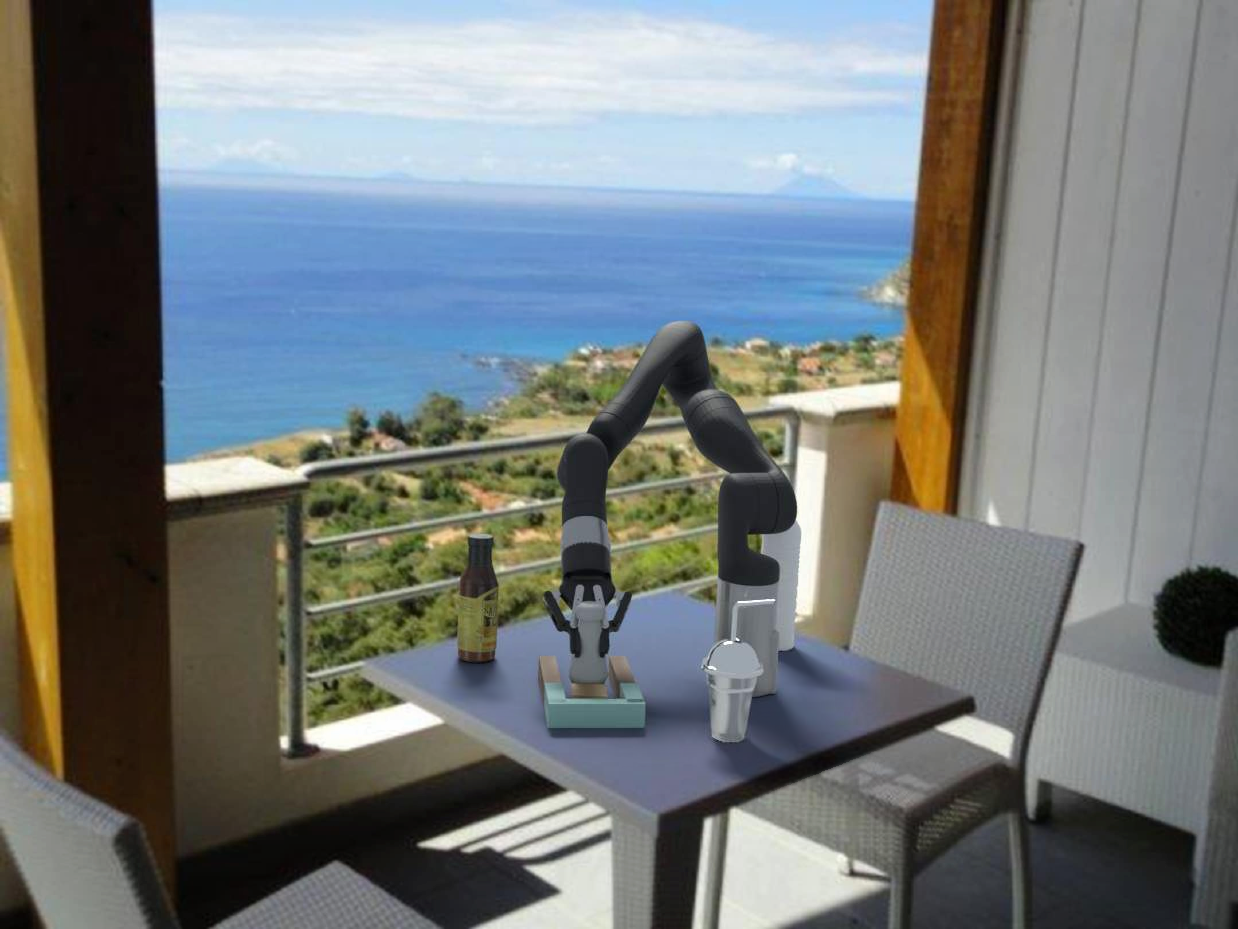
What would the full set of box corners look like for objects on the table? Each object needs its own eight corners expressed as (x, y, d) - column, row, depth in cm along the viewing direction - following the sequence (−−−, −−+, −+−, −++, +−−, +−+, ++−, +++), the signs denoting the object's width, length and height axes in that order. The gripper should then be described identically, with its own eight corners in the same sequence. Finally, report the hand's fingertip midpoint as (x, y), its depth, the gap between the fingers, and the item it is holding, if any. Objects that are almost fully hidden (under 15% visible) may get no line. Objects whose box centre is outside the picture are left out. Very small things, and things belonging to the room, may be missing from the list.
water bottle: (754, 639, 225) (763, 496, 220) (792, 641, 224) (802, 498, 220) (756, 654, 216) (766, 506, 212) (796, 657, 216) (806, 508, 212)
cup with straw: (720, 721, 185) (728, 583, 182) (774, 738, 179) (783, 597, 176) (684, 736, 179) (692, 594, 175) (739, 754, 173) (748, 608, 170)
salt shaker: (614, 687, 193) (618, 602, 191) (593, 698, 189) (596, 611, 186) (582, 678, 196) (585, 595, 194) (560, 689, 192) (563, 603, 189)
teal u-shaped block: (636, 706, 189) (637, 683, 189) (644, 728, 181) (645, 703, 180) (543, 706, 188) (544, 683, 187) (547, 728, 179) (548, 703, 179)
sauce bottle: (489, 666, 204) (493, 542, 201) (451, 662, 205) (454, 538, 202) (501, 653, 211) (505, 533, 207) (464, 649, 212) (467, 530, 208)
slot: (624, 674, 203) (625, 656, 203) (636, 706, 189) (637, 686, 189) (538, 674, 201) (538, 655, 201) (543, 706, 188) (544, 686, 187)
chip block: (605, 704, 190) (606, 684, 189) (605, 716, 185) (606, 696, 184) (571, 703, 190) (572, 683, 189) (570, 715, 185) (571, 695, 184)
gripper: (628, 566, 203) (634, 667, 193) (538, 564, 201) (539, 666, 192) (634, 540, 197) (641, 644, 187) (541, 539, 195) (543, 643, 185)
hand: (589, 655), depth 189 cm, fingers closed on salt shaker, 3 cm apart
